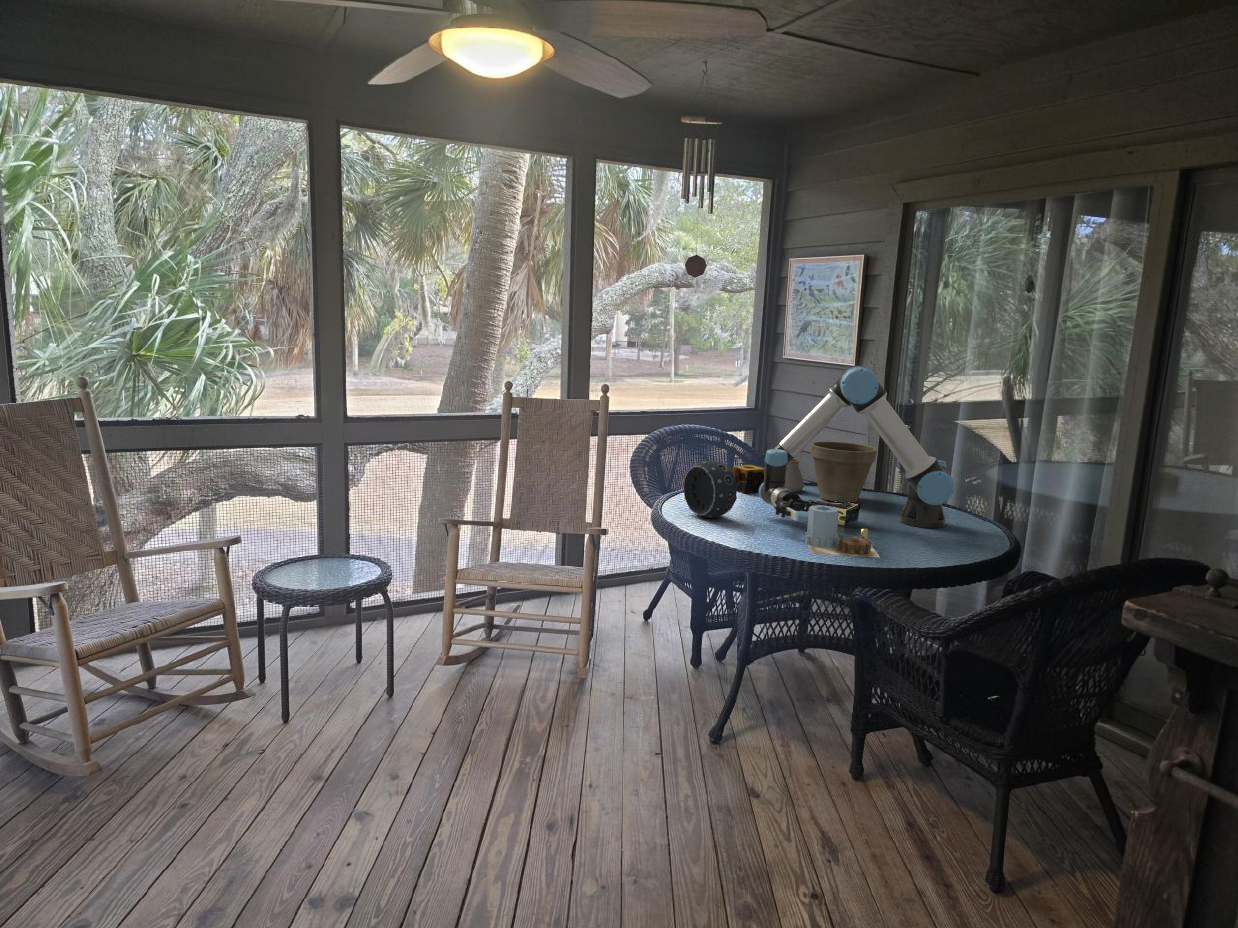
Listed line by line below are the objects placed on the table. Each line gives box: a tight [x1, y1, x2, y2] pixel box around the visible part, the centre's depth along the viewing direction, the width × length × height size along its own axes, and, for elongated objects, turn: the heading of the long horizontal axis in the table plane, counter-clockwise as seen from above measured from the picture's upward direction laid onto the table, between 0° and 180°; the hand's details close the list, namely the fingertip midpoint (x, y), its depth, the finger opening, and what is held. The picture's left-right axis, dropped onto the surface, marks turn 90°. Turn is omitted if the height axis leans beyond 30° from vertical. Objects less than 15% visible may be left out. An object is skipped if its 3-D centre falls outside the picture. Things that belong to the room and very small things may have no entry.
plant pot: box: [810, 441, 878, 503], centre depth 318 cm, size 25×25×22 cm
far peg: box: [859, 527, 869, 540], centre depth 249 cm, size 2×2×5 cm
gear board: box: [806, 543, 881, 559], centre depth 246 cm, size 20×17×2 cm
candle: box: [732, 464, 765, 495], centre depth 329 cm, size 10×10×10 cm
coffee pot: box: [763, 458, 805, 493], centre depth 329 cm, size 21×12×15 cm, turn 125°
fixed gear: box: [838, 535, 872, 555], centre depth 243 cm, size 9×9×4 cm
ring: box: [682, 460, 738, 519], centre depth 283 cm, size 11×20×20 cm, turn 33°
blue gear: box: [803, 505, 840, 548], centre depth 249 cm, size 10×10×11 cm
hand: (816, 515), depth 253 cm, fingers open, 13 cm apart
